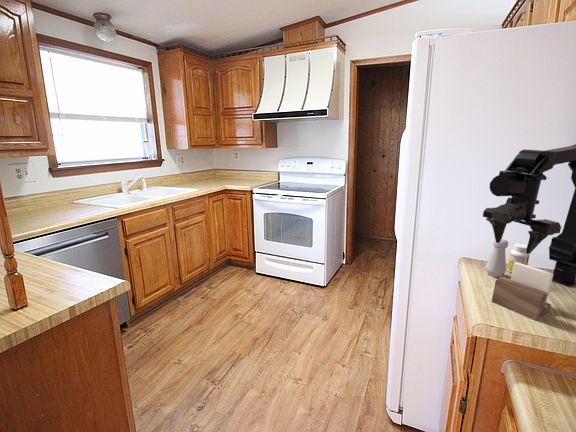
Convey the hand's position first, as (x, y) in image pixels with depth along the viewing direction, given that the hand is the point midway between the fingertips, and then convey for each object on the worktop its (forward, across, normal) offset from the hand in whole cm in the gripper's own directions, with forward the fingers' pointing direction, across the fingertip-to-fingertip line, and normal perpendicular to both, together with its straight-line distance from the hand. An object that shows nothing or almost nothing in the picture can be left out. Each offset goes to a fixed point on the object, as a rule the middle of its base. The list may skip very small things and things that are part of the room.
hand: (512, 247), depth 92 cm
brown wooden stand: (+15, +6, -1) cm, 17 cm away
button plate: (+12, +5, +3) cm, 14 cm away
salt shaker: (+15, -10, +10) cm, 20 cm away
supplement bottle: (+14, -10, +20) cm, 26 cm away
